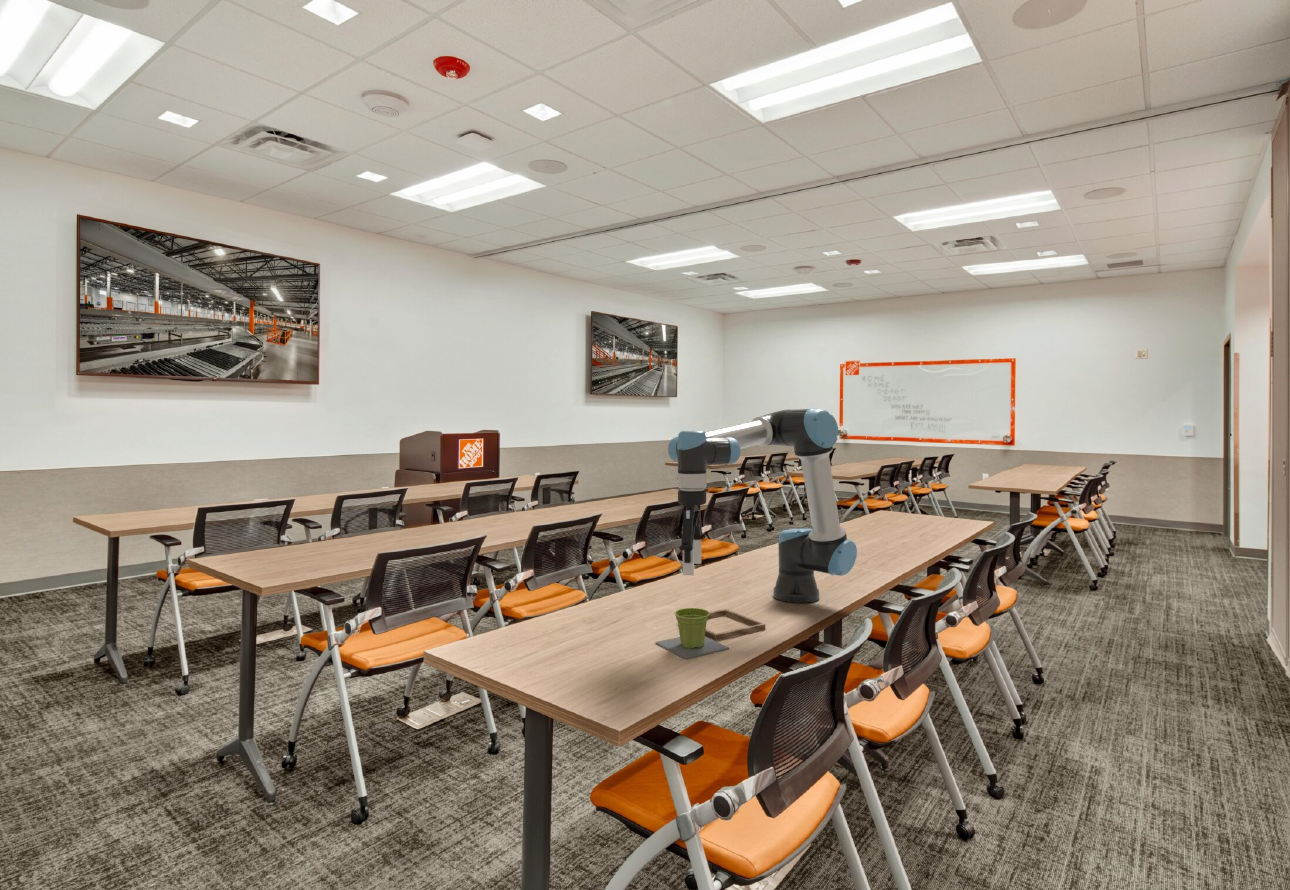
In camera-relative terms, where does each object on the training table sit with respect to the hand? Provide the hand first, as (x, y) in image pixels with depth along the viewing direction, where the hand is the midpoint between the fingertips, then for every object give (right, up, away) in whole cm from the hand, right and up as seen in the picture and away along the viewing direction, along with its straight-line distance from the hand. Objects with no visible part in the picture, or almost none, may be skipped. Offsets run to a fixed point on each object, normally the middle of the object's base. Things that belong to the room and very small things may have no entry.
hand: (692, 569), depth 173 cm
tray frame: (+10, -20, +17) cm, 28 cm away
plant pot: (0, -20, 0) cm, 20 cm away
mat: (0, -21, 0) cm, 21 cm away
